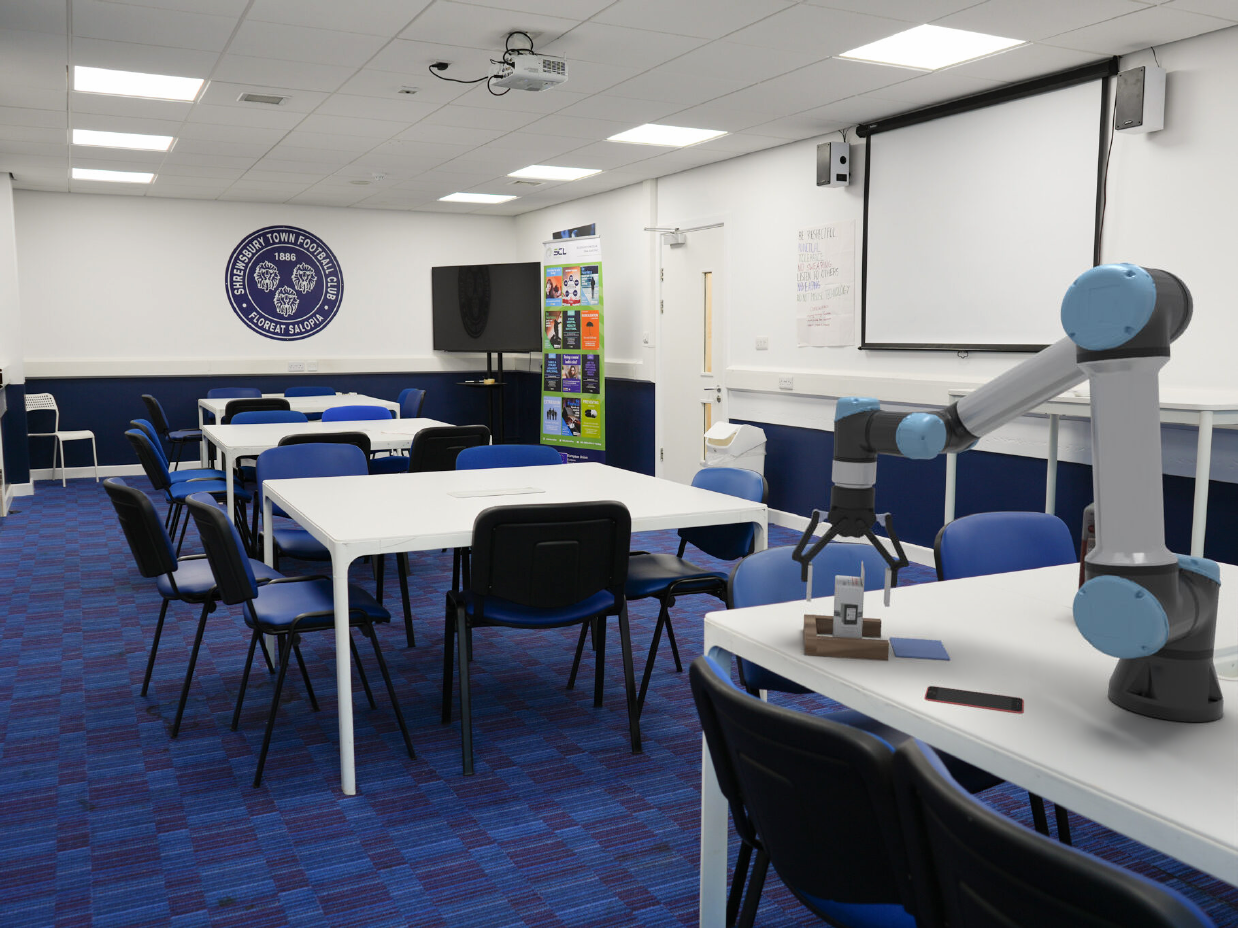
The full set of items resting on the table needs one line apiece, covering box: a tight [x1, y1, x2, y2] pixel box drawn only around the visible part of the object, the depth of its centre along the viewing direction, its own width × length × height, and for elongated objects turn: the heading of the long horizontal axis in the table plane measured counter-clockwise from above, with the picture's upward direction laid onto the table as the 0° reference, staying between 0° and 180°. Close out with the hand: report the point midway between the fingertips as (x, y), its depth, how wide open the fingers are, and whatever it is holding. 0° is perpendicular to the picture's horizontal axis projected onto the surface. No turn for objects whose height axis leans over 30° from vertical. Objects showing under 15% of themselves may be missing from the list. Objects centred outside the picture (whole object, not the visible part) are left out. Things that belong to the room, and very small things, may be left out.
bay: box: [803, 613, 890, 661], centre depth 175 cm, size 16×14×3 cm
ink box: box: [832, 560, 866, 639], centre depth 175 cm, size 9×5×15 cm, turn 168°
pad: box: [889, 636, 951, 661], centre depth 173 cm, size 11×9×1 cm
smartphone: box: [924, 685, 1025, 715], centre depth 148 cm, size 7×1×14 cm
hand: (847, 602), depth 175 cm, fingers open, 13 cm apart
